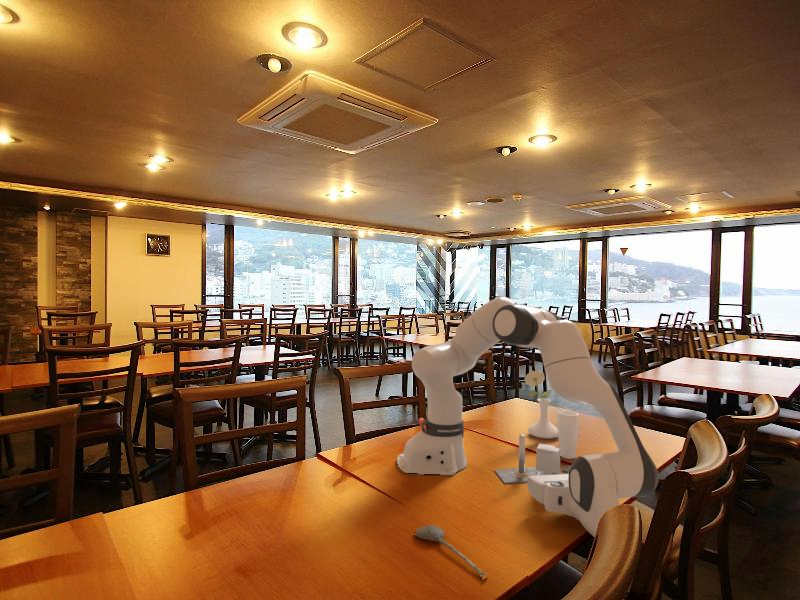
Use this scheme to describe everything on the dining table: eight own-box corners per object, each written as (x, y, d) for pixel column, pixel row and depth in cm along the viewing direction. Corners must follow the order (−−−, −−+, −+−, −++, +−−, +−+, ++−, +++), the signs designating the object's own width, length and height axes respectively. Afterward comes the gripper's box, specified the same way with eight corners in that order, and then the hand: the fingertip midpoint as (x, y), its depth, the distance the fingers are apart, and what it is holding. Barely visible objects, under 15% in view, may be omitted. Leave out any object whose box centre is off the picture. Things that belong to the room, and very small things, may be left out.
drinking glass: (574, 453, 153) (575, 409, 153) (580, 461, 147) (581, 416, 146) (554, 452, 154) (555, 409, 153) (559, 460, 147) (560, 415, 146)
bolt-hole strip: (504, 483, 130) (504, 482, 130) (494, 470, 139) (494, 469, 139) (588, 479, 134) (588, 477, 134) (573, 466, 143) (573, 465, 143)
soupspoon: (430, 529, 109) (408, 538, 106) (429, 515, 109) (407, 524, 105) (496, 575, 91) (472, 589, 87) (496, 559, 91) (471, 572, 87)
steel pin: (518, 476, 134) (519, 437, 133) (514, 472, 137) (515, 433, 136) (528, 476, 134) (528, 436, 134) (524, 472, 137) (524, 433, 137)
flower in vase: (558, 432, 174) (559, 368, 173) (560, 442, 163) (561, 374, 162) (523, 429, 177) (524, 366, 176) (523, 439, 166) (524, 372, 165)
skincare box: (534, 489, 127) (535, 447, 126) (537, 483, 131) (538, 442, 130) (557, 495, 124) (558, 452, 123) (560, 488, 128) (560, 446, 127)
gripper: (620, 482, 110) (590, 459, 124) (541, 486, 108) (519, 462, 121) (620, 507, 110) (589, 481, 124) (540, 512, 108) (518, 485, 122)
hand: (554, 472), depth 123 cm, fingers open, 8 cm apart
